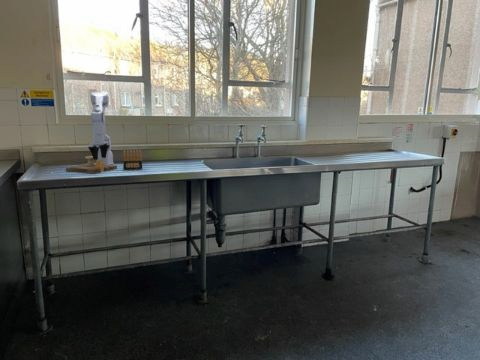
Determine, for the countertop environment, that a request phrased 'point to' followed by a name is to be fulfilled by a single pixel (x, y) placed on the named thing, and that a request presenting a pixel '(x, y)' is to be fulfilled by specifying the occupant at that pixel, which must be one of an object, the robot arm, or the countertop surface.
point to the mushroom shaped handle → (90, 161)
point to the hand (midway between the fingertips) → (99, 158)
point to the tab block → (100, 165)
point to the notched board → (90, 168)
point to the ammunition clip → (132, 160)
